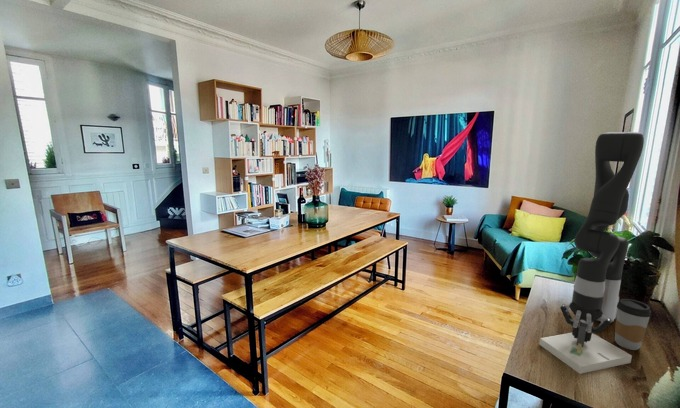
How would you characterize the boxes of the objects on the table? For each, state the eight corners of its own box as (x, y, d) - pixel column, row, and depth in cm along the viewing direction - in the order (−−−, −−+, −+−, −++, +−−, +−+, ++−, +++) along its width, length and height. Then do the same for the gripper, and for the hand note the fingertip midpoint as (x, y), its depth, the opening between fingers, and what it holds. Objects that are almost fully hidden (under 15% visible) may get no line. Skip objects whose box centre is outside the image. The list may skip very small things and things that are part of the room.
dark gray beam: (584, 338, 103) (587, 319, 101) (582, 354, 94) (585, 334, 93) (578, 336, 104) (580, 317, 102) (574, 352, 96) (577, 332, 94)
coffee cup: (635, 339, 106) (642, 300, 103) (650, 354, 98) (658, 312, 96) (606, 335, 109) (612, 296, 106) (618, 349, 101) (625, 308, 98)
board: (585, 336, 108) (586, 329, 108) (630, 362, 95) (632, 355, 94) (539, 344, 104) (540, 337, 103) (579, 373, 90) (581, 365, 90)
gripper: (619, 294, 95) (610, 344, 98) (565, 280, 105) (559, 325, 108) (615, 302, 90) (606, 354, 93) (559, 287, 100) (553, 334, 104)
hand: (580, 338), depth 101 cm, fingers closed on dark gray beam, 2 cm apart
